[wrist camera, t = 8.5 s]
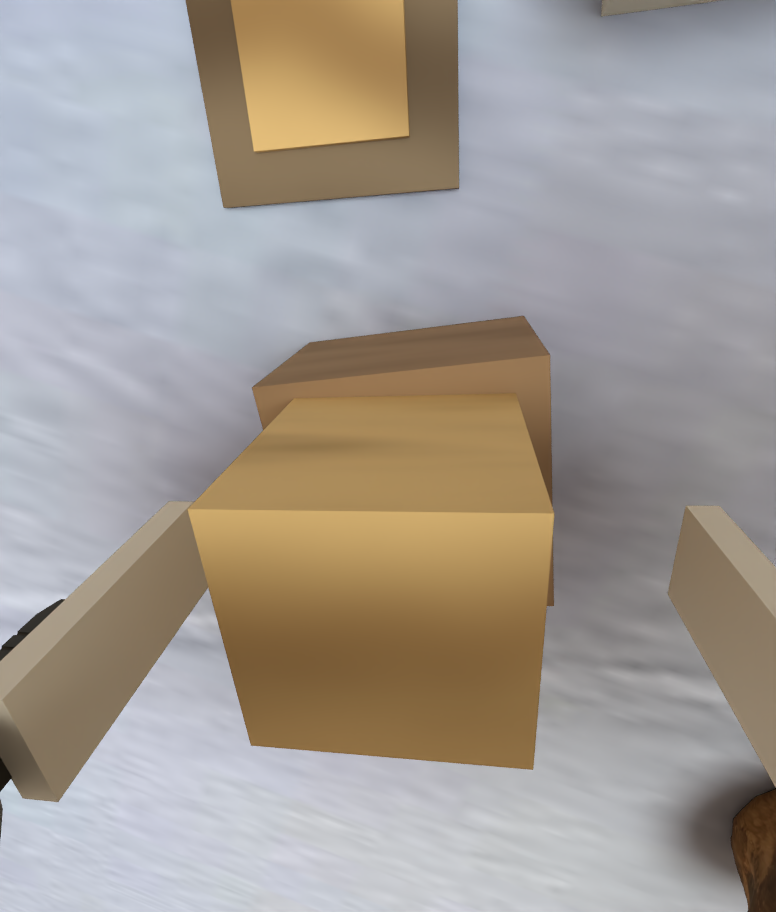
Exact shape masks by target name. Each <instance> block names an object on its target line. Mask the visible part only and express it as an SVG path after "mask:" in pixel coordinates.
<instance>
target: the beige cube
mask: <svg viewBox="0 0 776 912" xmlns="http://www.w3.org/2000/svg"><path fill="white" fill-rule="evenodd" d="M715 1H723V0H602V10H601V17H602V16H609V15H617V14H624V13H632V12H640V11H647V10H655V9H662V8H670V7H677V6H685V5H693V4H700V3H708V2H715Z"/></svg>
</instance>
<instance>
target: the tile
mask: <svg viewBox="0 0 776 912" xmlns="http://www.w3.org/2000/svg"><path fill="white" fill-rule="evenodd" d="M186 5H187V10H188V16H189V21H190V27H191V32H192V38H193V43H194V49H195V54H196V60H197V65H198V71H199V76H200V81H201V87H202V92H203V98H204V103H205V109H206V114H207V120H208V125H209V131H210V136H211V142H212V147H213V153H214V158H215V164H216V169H217V175H218V180H219V185H220V191H221V196H222V202H223V207H224V208H233V207H245V206H257V205H269V204H280V203H292V202H304V201H316V200H328V199H339V198H351V197H363V196H375V195H387V194H398V193H410V192H422V191H434V190H445V189H457V188H459V129H458V0H186Z"/></svg>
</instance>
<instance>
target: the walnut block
mask: <svg viewBox="0 0 776 912" xmlns="http://www.w3.org/2000/svg"><path fill="white" fill-rule="evenodd" d="M252 390H253V393H254V397H255V401H256V405H257V408H258V412H259V416H260V420H261V423H262V427H263V430H264V429H265V428H266V427H267V426H268V425H269V424H270V423H271V422H272V421H273V420H274V419H275V418H276V417H277V416H278V415H279V414H280V413H281V412H282V411H283V410H284V408H285V407H286V406H287V405H288V404H289V403H290V402H291V401H292V400H293V399H294V398H332V397H376V396H419V395H462V394H506V393H516V396H517V399H518V402H519V405H520V408H521V411H522V414H523V417H524V421H525V424H526V427H527V430H528V433H529V436H530V439H531V442H532V445H533V449H534V452H535V455H536V458H537V461H538V464H539V467H540V470H541V474H542V477H543V480H544V483H545V486H546V489H547V492H548V495H549V499H550V502H551V505H552V453H551V387H550V354H549V353H548V351H547V350H546V348H545V347H544V345H543V344H542V342H541V341H540V339H539V338H538V336H537V335H536V333H535V332H534V330H533V329H532V327H531V326H530V324H529V323H528V321H527V320H526V318H525V317H524V316H519V317H511V318H503V319H495V320H487V321H479V322H471V323H463V324H455V325H447V326H439V327H431V328H423V329H415V330H407V331H398V332H390V333H382V334H374V335H366V336H358V337H350V338H342V339H334V340H326V341H318V342H310V343H308V344H307V345H306V346H305V347H303V348H302V349H301V350H299V351H298V352H297V353H296V354H294V355H293V356H292V357H290V358H289V359H288V360H287V361H285V362H284V363H283V364H282V365H280V366H279V367H278V368H276V369H275V370H274V371H273V372H271V373H270V374H269V375H267V376H266V377H265V378H264V379H262V380H261V381H260V382H259V383H257V384H256V385H255V386H253V387H252ZM547 606H554V585H553V536H552V548H551V560H550V572H549V584H548V596H547Z"/></svg>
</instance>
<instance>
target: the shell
mask: <svg viewBox="0 0 776 912" xmlns="http://www.w3.org/2000/svg"><path fill="white" fill-rule="evenodd" d="M731 847H732V850H733V854H734V859H735V863H736V867H737V870H738V873H739V876H740V879H741V882H742V884H743V887H744V891H745V895H746V898H747V902H748V912H776V789H774V790H772V791H769V792H767V793H764V794H761V795H759V796H756V797H755V798H754V799H753V800H752V801H751V802H749V803H748V804H747V805H746V806H745V807H744V808H743V809H742V810H741V811H740V812H739V813H738V814H737V815H736V817H735V818H734V819H733V831H732V836H731Z"/></svg>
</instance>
